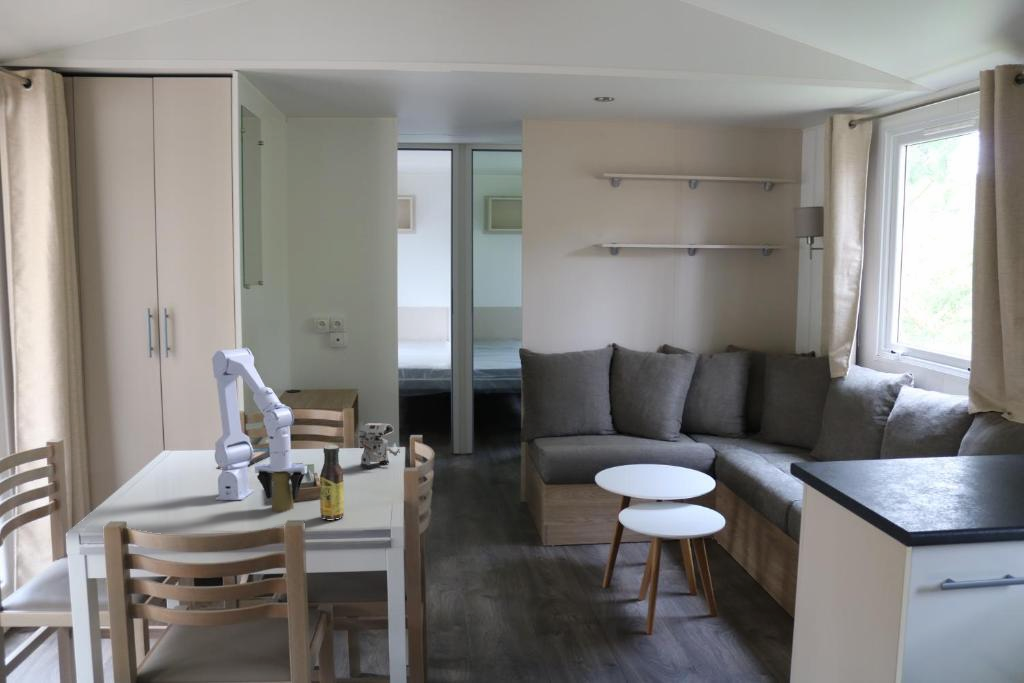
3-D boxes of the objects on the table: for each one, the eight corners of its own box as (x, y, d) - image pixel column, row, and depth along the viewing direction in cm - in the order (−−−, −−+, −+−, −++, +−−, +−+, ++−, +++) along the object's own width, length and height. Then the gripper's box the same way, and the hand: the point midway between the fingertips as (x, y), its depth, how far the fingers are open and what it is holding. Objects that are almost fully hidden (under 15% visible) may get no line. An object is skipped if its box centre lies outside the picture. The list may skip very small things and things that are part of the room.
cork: (275, 513, 219) (274, 474, 217) (268, 507, 223) (266, 469, 222) (297, 509, 222) (295, 470, 221) (289, 503, 227) (287, 466, 226)
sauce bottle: (316, 517, 214) (313, 446, 212) (337, 512, 218) (334, 442, 216) (327, 523, 209) (325, 450, 207) (348, 518, 213) (346, 446, 211)
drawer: (318, 486, 240) (318, 476, 240) (275, 491, 236) (275, 480, 236) (313, 471, 258) (313, 461, 258) (273, 474, 254) (272, 464, 254)
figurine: (379, 472, 258) (378, 427, 257) (357, 467, 266) (356, 423, 264) (400, 467, 265) (399, 423, 264) (378, 461, 273) (377, 418, 271)
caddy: (322, 498, 231) (321, 487, 231) (276, 503, 227) (276, 491, 227) (317, 483, 247) (316, 472, 246) (274, 487, 243) (274, 476, 242)
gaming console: (253, 447, 289) (278, 446, 286) (254, 454, 289) (279, 453, 287) (215, 464, 266) (241, 463, 263) (216, 472, 266) (242, 471, 263)
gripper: (310, 447, 224) (312, 494, 226) (261, 446, 226) (263, 493, 227) (301, 453, 217) (303, 501, 219) (250, 452, 219) (253, 500, 220)
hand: (282, 497), depth 222 cm, fingers open, 7 cm apart
